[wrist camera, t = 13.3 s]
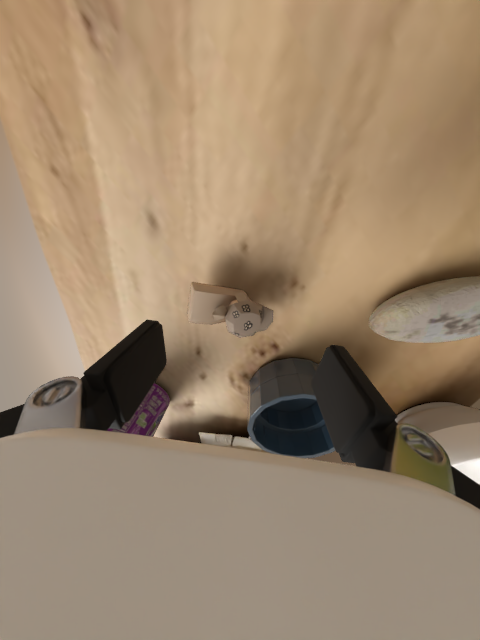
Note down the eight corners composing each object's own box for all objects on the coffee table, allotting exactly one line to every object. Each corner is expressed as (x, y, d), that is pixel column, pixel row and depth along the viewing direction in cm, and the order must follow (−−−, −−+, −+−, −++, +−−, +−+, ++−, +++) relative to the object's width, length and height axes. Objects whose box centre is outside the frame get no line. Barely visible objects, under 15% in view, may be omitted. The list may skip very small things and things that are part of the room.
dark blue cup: (255, 350, 22) (256, 387, 16) (345, 362, 22) (375, 403, 16) (244, 408, 27) (242, 451, 22) (316, 418, 27) (332, 463, 22)
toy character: (249, 315, 22) (271, 344, 17) (185, 310, 19) (191, 344, 14) (259, 285, 20) (287, 309, 15) (190, 274, 17) (199, 299, 12)
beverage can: (153, 412, 29) (94, 516, 18) (118, 388, 27) (28, 490, 16) (180, 396, 27) (132, 505, 16) (145, 368, 24) (61, 472, 14)
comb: (199, 422, 28) (203, 442, 34) (194, 438, 26) (199, 457, 32) (288, 435, 27) (276, 453, 33) (290, 453, 25) (277, 469, 32)
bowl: (485, 455, 28) (568, 534, 21) (356, 462, 32) (388, 531, 24) (535, 366, 20) (698, 442, 13) (356, 389, 24) (402, 458, 16)
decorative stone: (515, 315, 18) (570, 332, 15) (356, 340, 20) (375, 359, 17) (545, 255, 15) (619, 260, 12) (359, 292, 18) (381, 304, 15)
